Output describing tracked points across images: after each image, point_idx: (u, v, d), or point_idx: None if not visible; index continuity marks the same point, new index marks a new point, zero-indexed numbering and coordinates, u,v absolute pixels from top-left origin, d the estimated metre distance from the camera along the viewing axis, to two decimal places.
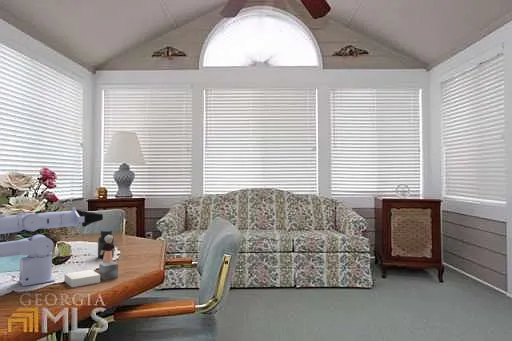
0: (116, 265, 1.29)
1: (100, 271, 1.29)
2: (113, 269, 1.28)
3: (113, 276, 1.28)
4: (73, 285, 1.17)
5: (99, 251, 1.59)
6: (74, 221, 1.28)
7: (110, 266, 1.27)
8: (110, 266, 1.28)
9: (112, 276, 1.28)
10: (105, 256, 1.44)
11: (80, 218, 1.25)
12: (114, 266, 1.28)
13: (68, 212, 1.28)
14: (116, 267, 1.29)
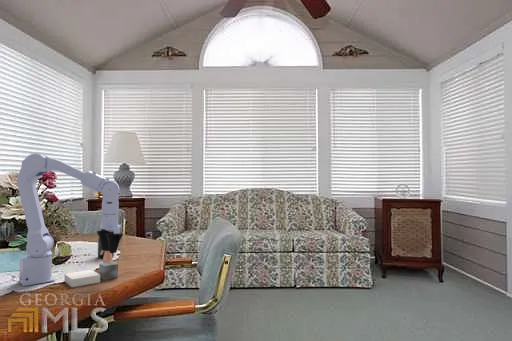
0: (116, 265, 1.29)
1: (100, 271, 1.29)
2: (113, 269, 1.28)
3: (113, 276, 1.28)
4: (73, 285, 1.17)
5: (99, 251, 1.59)
6: (110, 226, 1.27)
7: (110, 266, 1.27)
8: (110, 266, 1.28)
9: (112, 276, 1.28)
10: (105, 256, 1.44)
11: (118, 229, 1.25)
12: (114, 266, 1.28)
13: (117, 220, 1.30)
14: (116, 267, 1.29)
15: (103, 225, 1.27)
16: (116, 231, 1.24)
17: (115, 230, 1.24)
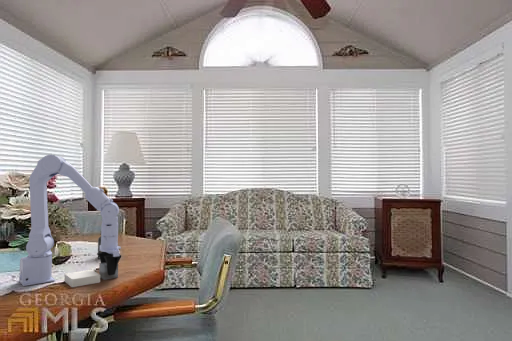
0: None
1: (100, 270, 1.29)
2: None
3: (113, 276, 1.28)
4: (73, 285, 1.17)
5: (99, 251, 1.59)
6: (109, 248, 1.27)
7: None
8: None
9: (112, 276, 1.28)
10: None
11: (118, 252, 1.25)
12: None
13: (117, 242, 1.30)
14: None
15: (102, 247, 1.27)
16: (115, 254, 1.24)
17: (114, 253, 1.24)
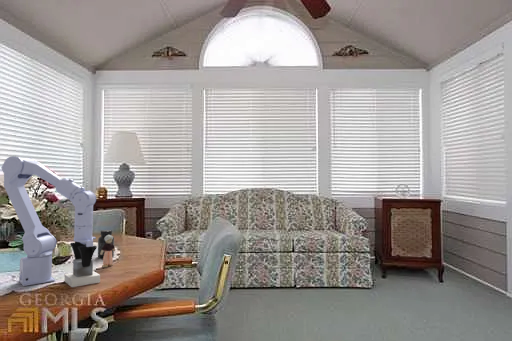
0: None
1: (74, 267, 1.23)
2: None
3: (87, 273, 1.22)
4: (73, 285, 1.17)
5: (99, 251, 1.59)
6: (83, 238, 1.21)
7: None
8: None
9: (86, 273, 1.22)
10: (105, 256, 1.44)
11: (91, 242, 1.19)
12: None
13: None
14: (90, 263, 1.23)
15: (76, 237, 1.21)
16: (89, 244, 1.18)
17: (88, 243, 1.18)
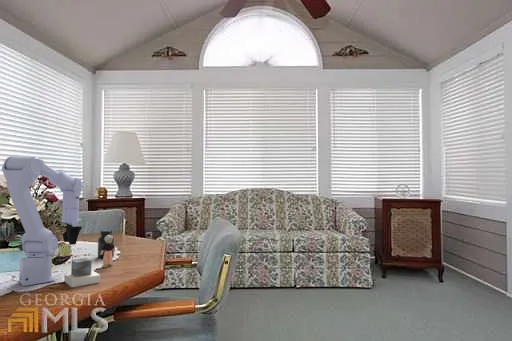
0: (89, 261, 1.23)
1: (72, 267, 1.23)
2: (86, 266, 1.22)
3: (86, 273, 1.22)
4: (73, 285, 1.17)
5: (99, 251, 1.59)
6: (69, 219, 1.37)
7: (82, 262, 1.21)
8: (83, 263, 1.22)
9: (85, 273, 1.22)
10: (105, 256, 1.44)
11: (77, 222, 1.34)
12: (87, 262, 1.22)
13: (78, 214, 1.40)
14: (89, 263, 1.23)
15: (63, 219, 1.37)
16: (74, 224, 1.34)
17: (73, 223, 1.33)
